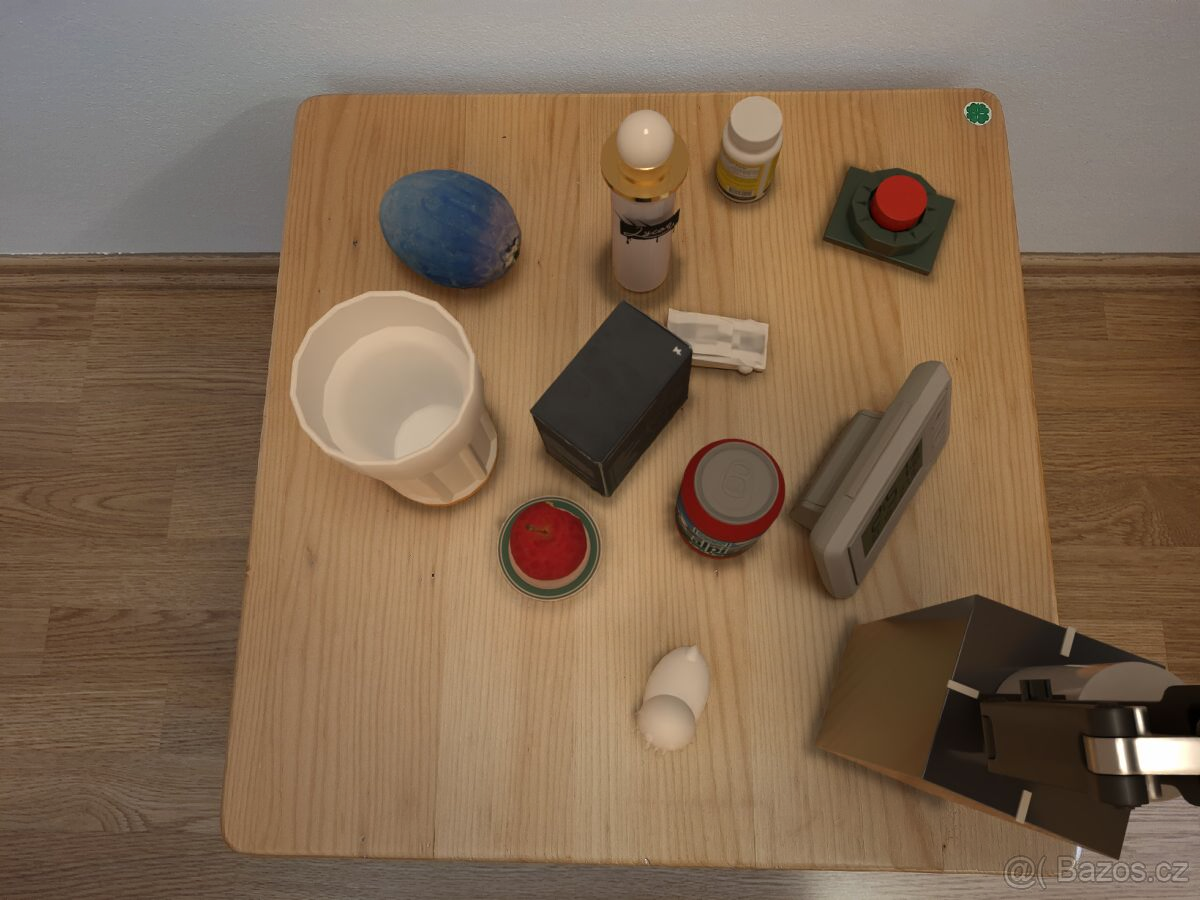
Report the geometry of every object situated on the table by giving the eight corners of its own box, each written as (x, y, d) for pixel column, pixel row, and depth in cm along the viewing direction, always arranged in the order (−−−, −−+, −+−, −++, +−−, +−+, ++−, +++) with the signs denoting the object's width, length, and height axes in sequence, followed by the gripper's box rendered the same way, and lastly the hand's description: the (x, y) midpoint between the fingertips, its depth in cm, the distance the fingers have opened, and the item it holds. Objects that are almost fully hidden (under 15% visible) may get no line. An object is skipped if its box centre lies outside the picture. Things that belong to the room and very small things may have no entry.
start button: (926, 196, 72) (933, 184, 70) (911, 238, 71) (918, 227, 69) (878, 180, 73) (884, 168, 71) (863, 221, 72) (869, 210, 70)
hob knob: (1093, 666, 41) (1205, 661, 33) (1109, 780, 40) (1229, 804, 32) (984, 666, 42) (1070, 661, 33) (996, 779, 40) (1088, 803, 32)
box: (624, 350, 72) (623, 294, 62) (689, 397, 70) (700, 349, 60) (540, 450, 70) (526, 411, 60) (607, 501, 69) (603, 469, 58)
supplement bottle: (753, 145, 76) (768, 81, 68) (782, 188, 75) (801, 128, 67) (704, 169, 76) (713, 107, 68) (732, 213, 74) (745, 155, 66)
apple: (489, 508, 69) (476, 490, 62) (591, 488, 69) (588, 468, 63) (507, 611, 67) (494, 603, 60) (612, 590, 67) (610, 580, 60)
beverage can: (661, 543, 68) (668, 513, 56) (690, 462, 69) (702, 417, 58) (747, 573, 67) (771, 550, 55) (773, 490, 68) (803, 450, 57)
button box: (952, 204, 74) (963, 188, 72) (928, 276, 73) (938, 262, 70) (848, 170, 75) (856, 152, 73) (822, 240, 74) (829, 225, 71)
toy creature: (622, 738, 64) (621, 744, 58) (663, 634, 66) (667, 629, 60) (681, 765, 63) (687, 773, 57) (721, 658, 65) (731, 656, 59)
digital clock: (833, 612, 66) (872, 599, 56) (744, 526, 68) (765, 498, 57) (976, 463, 68) (1037, 424, 58) (886, 384, 70) (931, 332, 60)
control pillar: (974, 672, 64) (1171, 665, 41) (937, 798, 62) (1123, 865, 39) (852, 624, 66) (976, 590, 42) (812, 746, 64) (919, 781, 40)
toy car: (668, 314, 72) (669, 302, 70) (767, 323, 72) (771, 312, 70) (662, 368, 71) (663, 358, 69) (763, 378, 71) (767, 368, 68)
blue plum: (528, 261, 63) (349, 182, 65) (520, 347, 70) (359, 272, 72) (584, 198, 68) (416, 127, 71) (571, 283, 75) (419, 216, 77)
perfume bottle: (598, 247, 74) (589, 92, 55) (666, 232, 74) (680, 72, 55) (614, 309, 73) (610, 173, 53) (683, 294, 73) (703, 152, 53)
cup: (525, 394, 71) (494, 303, 54) (496, 532, 68) (453, 482, 51) (388, 371, 72) (315, 275, 55) (353, 507, 69) (265, 449, 52)
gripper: (2020, 564, 18) (1245, 632, 40) (1112, 589, 18) (845, 642, 41) (2201, 981, 16) (1282, 809, 39) (1182, 998, 16) (861, 818, 39)
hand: (1058, 723), depth 40 cm, fingers closed on hob knob, 5 cm apart
